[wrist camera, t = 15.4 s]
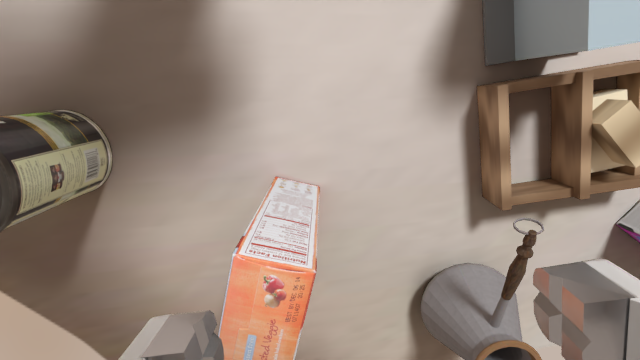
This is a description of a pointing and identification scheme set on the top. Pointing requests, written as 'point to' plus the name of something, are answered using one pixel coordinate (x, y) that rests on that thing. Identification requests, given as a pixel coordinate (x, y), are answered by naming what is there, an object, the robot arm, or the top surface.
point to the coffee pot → (480, 308)
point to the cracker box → (272, 275)
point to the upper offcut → (618, 131)
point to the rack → (553, 137)
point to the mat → (498, 31)
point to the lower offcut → (597, 153)
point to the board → (573, 26)
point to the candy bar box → (631, 222)
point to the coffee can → (48, 162)
